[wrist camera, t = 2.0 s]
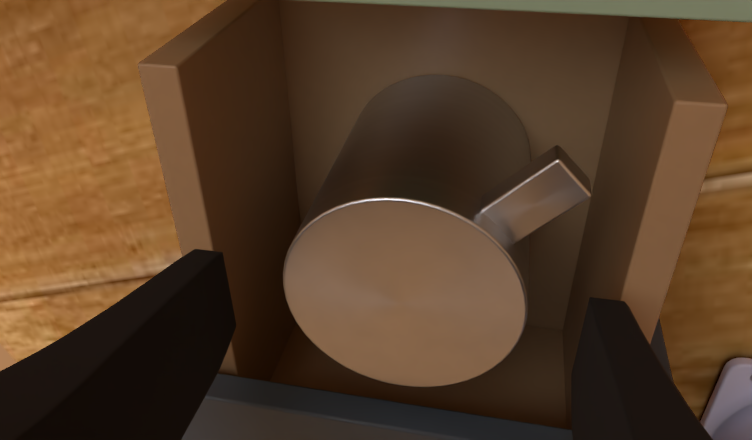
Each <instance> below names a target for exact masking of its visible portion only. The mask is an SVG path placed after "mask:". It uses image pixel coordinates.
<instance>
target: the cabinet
mask: <svg viewBox="0 0 752 440" xmlns="http://www.w3.org/2000/svg"><path fill="white" fill-rule="evenodd" d="M650 346H651V347H652V349H653V351H654V352H655V354H656V356H657V358H658V359H659V361H660V363H661V364H662V366H663V367H664V369H665V371H666V372H667V374H668V375H669V377H670V378H671V380H672V381H673V378H672V374H671V369H670V365H669V360H668V356H667V351H666V347H665V342H664V338H663V334H662V329H661V325H660V320H659V319H658V322H657V325H656V328H655V331H654V334H653V337H652V340H651V343H650ZM673 383H674V382H673ZM181 440H573V434H572V430H571V429H565V428H558V427H552V426H546V425H540V424H533V423H527V422H521V421H514V420H508V419H502V418H496V417H489V416H483V415H477V414H471V413H464V412H458V411H452V410H446V409H439V408H433V407H427V406H421V405H414V404H408V403H402V402H395V401H389V400H383V399H377V398H370V397H364V396H358V395H352V394H345V393H339V392H333V391H327V390H320V389H314V388H308V387H302V386H295V385H289V384H283V383H276V382H270V381H264V380H258V379H251V378H245V377H239V376H233V375H226V374H220V373H217V375H216V377H215V379H214V381H213V383H212V385H211V387H210V388H209V390H208V392H207V394H206V396H205V398H204V399H203V401H202V403H201V405H200V407H199V409H198V410H197V412H196V414H195V416H194V418H193V419H192V421H191V423H190V425H189V427H188V428H187V430H186V432H185V434H184V436H183V437H182V439H181Z"/></svg>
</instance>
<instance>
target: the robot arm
mask: <svg viewBox="0 0 752 440" xmlns="http://www.w3.org/2000/svg"><path fill="white" fill-rule="evenodd" d="M236 326H237V325H236V320H235V315H234V310H233V304H232V299H231V294H230V289H229V283H228V278H227V273H226V267H225V262H224V257H223V252H217V251H209V250H201V249H194V250H192V251H191V252H189V253H188V254H186V255H185V256H183V257H182V258H180V259H179V260H177V261H176V262H174V263H173V264H171V265H170V266H169V267H167V268H166V269H164V270H163V271H162V272H160V273H159V274H157V275H156V276H154V277H153V278H152V279H150V280H149V281H147V282H146V283H145V284H143V285H142V286H140V287H139V288H137V289H136V290H134V291H133V292H132V293H130V294H129V295H127V296H126V297H124V298H123V299H121V300H120V301H119V302H117V303H116V304H114V305H113V306H111V307H110V308H108V309H107V310H105V311H104V312H102V313H100V314H99V315H97V316H96V317H94V318H92V319H91V320H89V321H88V322H86V323H85V324H83V325H81V326H80V327H78V328H77V329H75V330H73V331H72V332H70V333H69V334H67V335H66V336H64V337H62V338H61V339H59V340H57V341H55V342H54V343H52V344H50V345H49V346H47V347H45V348H43V349H41V350H40V351H38V352H36V353H34V354H32V355H30V356H29V357H27V358H25V359H23V360H21V361H19V362H17V363H15V364H13V365H12V366H10V367H8V368H6V369H4V370H2V371H0V440H181V439H182V437H183V436H184V434H185V432H186V430H187V428H188V427H189V425H190V423H191V421H192V419H193V418H194V416H195V414H196V412H197V410H198V409H199V407H200V405H201V403H202V401H203V399H204V398H205V396H206V394H207V392H208V390H209V388H210V387H211V385H212V383H213V381H214V379H215V377H216V375H217V373H218V372H219V370H220V367H221V365H222V362H223V360H224V358H225V355H226V353H227V350H228V347H229V345H230V342H231V339H232V337H233V334H234V331H235V328H236ZM571 425H572V434H573V440H752V359H751V358H734V359H732V360H730V361H728V362H727V363H726V364H725V366H724V368H723V370H722V372H721V375H720V377H719V379H718V382H717V384H716V386H715V389H714V391H713V393H712V396H711V398H710V400H709V402H708V405H707V407H706V409H705V412H704V414H703V416H702V419H701V421H699V420H698V419H697V417H696V416H695V414H694V413H693V411H692V410H691V408H690V407H689V406H688V404H687V403H686V401H685V400H684V398H683V397H682V395H681V394H680V392H679V391H678V389H677V388H676V386H675V384H674V383H673V381H672V380H671V378H670V377H669V375H668V374H667V372H666V371H665V369H664V367H663V366H662V364H661V363H660V361H659V359H658V358H657V356H656V354H655V352H654V351H653V349H652V347H651V346H650V344H649V342H648V341H647V339H646V337H645V335H644V333H643V332H642V330H641V328H640V326H639V324H638V323H637V321H636V319H635V317H634V315H633V313H632V311H631V309H630V307H629V306H628V305H627V304H626V303H625V301H618V300H610V299H601V298H593V297H590V298H589V302H588V306H587V310H586V315H585V319H584V323H583V327H582V331H581V336H580V340H579V344H578V348H577V352H576V357H575V361H574V365H573V369H572V373H571Z"/></svg>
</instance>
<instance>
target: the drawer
mask: <svg viewBox="0 0 752 440" xmlns="http://www.w3.org/2000/svg"><path fill="white" fill-rule="evenodd" d="M678 19H690V20H711V21H732V22H752V0H227V1H225V2H224V3H223V4H221V5H220V6H218V7H217V8H216V9H214V10H213V11H211V12H210V13H209V14H207V15H206V16H204V17H203V18H201V19H200V20H199V21H197V22H196V23H194V24H193V25H192V26H190V27H189V28H187V29H186V30H185V31H183V32H182V33H180V34H179V35H177V36H176V37H175V38H173V39H172V40H170V41H169V42H168V43H166V44H165V45H163V46H162V47H161V48H159V49H158V50H156V51H155V52H154V53H152V54H151V55H149V56H148V57H146V58H145V59H144V60H142V61H141V62H139V63H138V69H139V73H140V78H141V82H142V86H143V90H144V95H145V99H146V103H147V107H148V112H149V116H150V120H151V124H152V129H153V133H154V137H155V141H156V146H157V150H158V154H159V158H160V163H161V167H162V171H163V176H164V180H165V184H166V188H167V193H168V197H169V201H170V205H171V210H172V214H173V218H174V222H175V227H176V231H177V235H178V239H179V244H180V248H181V252H182V256H185V255H186V254H188V253H189V252H191V251H192V250H194V249H201V250H209V251H217V252H223V257H224V262H225V267H226V273H227V278H228V283H229V289H230V294H231V299H232V304H233V310H234V315H235V320H236V325H237V326H236V328H235V331H234V334H233V337H232V339H231V342H230V345H229V347H228V350H227V353H226V355H225V358H224V360H223V362H222V365H221V367H220V370H219V372H218V373H220V374H226V375H233V376H239V377H245V378H251V379H258V380H264V381H270V382H276V383H283V384H289V385H295V386H302V387H308V388H314V389H320V390H327V391H333V392H339V393H345V394H352V395H358V396H364V397H370V398H377V399H383V400H389V401H395V402H402V403H408V404H414V405H421V406H427V407H433V408H439V409H446V410H452V411H458V412H464V413H471V414H477V415H483V416H489V417H496V418H502V419H508V420H514V421H521V422H527V423H533V424H540V425H546V426H552V427H558V428H565V429H571V430H572V425H571V373H572V369H573V365H574V361H575V357H576V352H577V348H578V344H579V340H580V336H581V331H582V327H583V323H584V319H585V315H586V310H587V306H588V302H589V298H590V297H593V298H601V299H610V300H618V301H625V303H626V304H627V305H628V306H629V307H630V309H631V311H632V313H633V315H634V317H635V319H636V321H637V323H638V324H639V326H640V328H641V330H642V332H643V333H644V335H645V337H646V339H647V341H648V342H649V344H650V343H651V340H652V337H653V334H654V331H655V328H656V325H657V322H658V319H659V316H660V312H661V309H662V306H663V303H664V300H665V297H666V294H667V291H668V288H669V285H670V282H671V279H672V276H673V273H674V270H675V267H676V264H677V261H678V258H679V255H680V252H681V248H682V245H683V242H684V239H685V236H686V233H687V230H688V227H689V224H690V221H691V218H692V215H693V212H694V209H695V206H696V203H697V200H698V197H699V194H700V191H701V187H702V184H703V181H704V178H705V175H706V172H707V169H708V166H709V163H710V160H711V157H712V154H713V151H714V148H715V145H716V142H717V139H718V136H719V133H720V130H721V126H722V123H723V120H724V117H725V114H726V111H727V108H728V104H727V102H726V101H725V99H724V97H723V95H722V94H721V92H720V90H719V89H718V87H717V85H716V83H715V82H714V80H713V78H712V77H711V75H710V73H709V71H708V70H707V68H706V66H705V65H704V63H703V61H702V60H701V58H700V56H699V54H698V53H697V51H696V49H695V48H694V46H693V44H692V42H691V41H690V39H689V37H688V36H687V34H686V32H685V30H684V29H683V27H682V25H681V24H680V22H679V20H678ZM424 75H447V76H454V77H459V78H462V79H466V80H469V81H472V82H474V83H477V84H479V85H481V86H483V87H485V88H487V89H488V90H490V91H492V92H493V93H494V94H496V95H497V96H498V97H500V98H501V99H502V100H503V101H504V102H505V103H506V104H507V105H508V106H509V107H510V108H511V109H512V110H513V112H514V113H515V114H516V115H517V117H518V118H519V120H520V122H521V124H522V125H523V127H524V130H525V132H526V135H527V137H528V141H529V146H530V153H531V162H532V161H534V160H535V159H536V158H538V157H539V156H541V155H542V154H544V153H545V152H547V151H548V150H550V149H551V148H553V147H554V146H556V145H558V146H560V147H561V148H562V149H563V150H564V151H565V152H566V153H567V155H568V156H569V157H570V158H571V159H572V160H573V161H574V162H575V163H576V165H577V166H578V167H579V168H580V169H581V170H582V171H583V172H584V173H585V175H586V176H587V177H588V178H589V179H590V183H591V191H592V196H591V197H590V198H589V199H587V200H585V201H584V202H582V203H581V204H579V205H577V206H576V207H574V208H572V209H571V210H569V211H567V212H566V213H564V214H563V215H561V216H559V217H558V218H556V219H554V220H553V221H551V222H549V223H548V224H546V225H544V226H543V227H541V228H540V229H538V230H536V231H535V232H533V233H531V234H530V239H529V294H528V316H527V321H526V325H525V328H524V331H523V333H522V335H521V338H520V340H519V341H518V343H517V344H516V346H515V347H514V349H513V350H512V352H511V353H510V354H509V355H508V356H507V357H506V358H505V359H504V360H503V361H502V362H501V363H499V364H498V365H497V366H495V367H494V368H493V369H491V370H489V371H488V372H486V373H484V374H482V375H480V376H478V377H476V378H473V379H471V380H468V381H465V382H461V383H458V384H453V385H448V386H441V387H407V386H399V385H394V384H389V383H384V382H381V381H378V380H374V379H371V378H368V377H366V376H363V375H361V374H358V373H356V372H354V371H352V370H350V369H348V368H346V367H344V366H343V365H341V364H339V363H338V362H336V361H334V360H333V359H331V358H330V357H329V356H327V355H326V354H325V353H323V352H322V351H321V350H320V349H319V348H318V347H317V346H316V345H315V344H313V343H312V342H311V340H310V339H309V338H308V337H307V336H306V335H305V334H304V333H303V331H302V330H301V328H300V327H299V325H298V324H297V322H296V321H295V319H294V317H293V315H292V313H291V311H290V309H289V306H288V303H287V301H286V297H285V292H284V287H283V268H284V261H285V258H286V255H287V251H288V249H289V247H290V245H291V243H292V241H293V239H294V237H295V235H296V234H297V232H298V230H299V228H300V226H301V224H302V222H303V220H304V219H305V217H306V215H307V213H308V211H309V209H310V207H311V205H312V204H313V202H314V200H315V198H316V196H317V194H318V192H319V190H320V188H321V187H322V185H323V183H324V181H325V179H326V177H327V175H328V173H329V172H330V170H331V168H332V166H333V164H334V162H335V160H336V158H337V157H338V155H339V153H340V151H341V149H342V147H343V145H344V143H345V141H346V140H347V138H348V136H349V134H350V132H351V130H352V128H353V126H354V125H355V123H356V121H357V119H358V117H359V115H360V113H361V112H362V111H363V109H364V108H365V106H366V105H367V104H368V103H369V102H370V101H371V100H372V99H373V98H374V97H375V96H376V95H377V94H379V93H380V92H381V91H383V90H384V89H386V88H387V87H389V86H391V85H393V84H395V83H397V82H400V81H402V80H405V79H409V78H413V77H416V76H424Z"/></svg>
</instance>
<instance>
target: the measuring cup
mask: <svg viewBox="0 0 752 440" xmlns="http://www.w3.org/2000/svg"><path fill="white" fill-rule="evenodd" d="M591 196H592V191H591V183H590V179H589V178H588V177H587V176H586V175H585V173H584V172H583V171H582V170H581V169H580V168H579V167H578V166H577V165H576V163H575V162H574V161H573V160H572V159H571V158H570V157H569V156H568V155H567V153H566V152H565V151H564V150H563V149H562V148H561V147H560V146H558V145H556V146H554V147H553V148H551V149H550V150H548V151H547V152H545V153H544V154H542V155H541V156H539V157H538V158H536V159H535V160H534V161H532V162H531V153H530V146H529V141H528V137H527V135H526V132H525V130H524V127H523V125H522V124H521V122H520V120H519V118H518V117H517V115H516V114H515V113H514V112H513V110H512V109H511V108H510V107H509V106H508V105H507V104H506V103H505V102H504V101H503V100H502V99H501V98H500V97H498V96H497V95H496V94H494V93H493V92H492V91H490V90H488V89H487V88H485V87H483V86H481V85H479V84H477V83H474V82H472V81H469V80H466V79H462V78H459V77H454V76H447V75H424V76H416V77H413V78H409V79H405V80H402V81H400V82H397V83H395V84H393V85H391V86H389V87H387V88H386V89H384V90H383V91H381V92H380V93H379V94H377V95H376V96H375V97H374V98H373V99H372V100H371V101H370V102H369V103H368V104H367V105H366V106H365V108H364V109H363V111H362V112H361V113H360V115H359V117H358V119H357V121H356V123H355V125H354V126H353V128H352V130H351V132H350V134H349V136H348V138H347V140H346V141H345V143H344V145H343V147H342V149H341V151H340V153H339V155H338V157H337V158H336V160H335V162H334V164H333V166H332V168H331V170H330V172H329V173H328V175H327V177H326V179H325V181H324V183H323V185H322V187H321V188H320V190H319V192H318V194H317V196H316V198H315V200H314V202H313V204H312V205H311V207H310V209H309V211H308V213H307V215H306V217H305V219H304V220H303V222H302V224H301V226H300V228H299V230H298V232H297V234H296V235H295V237H294V239H293V241H292V243H291V245H290V247H289V249H288V251H287V255H286V258H285V261H284V268H283V287H284V292H285V297H286V301H287V303H288V306H289V309H290V311H291V313H292V315H293V317H294V319H295V321H296V322H297V324H298V325H299V327H300V328H301V330H302V331H303V333H304V334H305V335H306V336H307V337H308V338H309V339H310V340H311V342H312V343H313V344H315V345H316V346H317V347H318V348H319V349H320V350H321V351H322V352H323V353H325V354H326V355H327V356H329V357H330V358H331V359H333V360H334V361H336V362H338V363H339V364H341V365H343V366H344V367H346V368H348V369H350V370H352V371H354V372H356V373H358V374H361V375H363V376H366V377H368V378H371V379H374V380H378V381H381V382H384V383H389V384H394V385H399V386H407V387H441V386H448V385H453V384H458V383H461V382H465V381H468V380H471V379H473V378H476V377H478V376H480V375H482V374H484V373H486V372H488V371H489V370H491V369H493V368H494V367H495V366H497V365H498V364H499V363H501V362H502V361H503V360H504V359H505V358H506V357H507V356H508V355H509V354H510V353H511V352H512V350H513V349H514V347H515V346H516V344H517V343H518V341H519V340H520V338H521V335H522V333H523V331H524V328H525V325H526V321H527V316H528V294H529V239H530V234H531V233H533V232H535V231H536V230H538V229H540V228H541V227H543V226H544V225H546V224H548V223H549V222H551V221H553V220H554V219H556V218H558V217H559V216H561V215H563V214H564V213H566V212H567V211H569V210H571V209H572V208H574V207H576V206H577V205H579V204H581V203H582V202H584V201H585V200H587V199H589V198H590V197H591Z"/></svg>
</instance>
